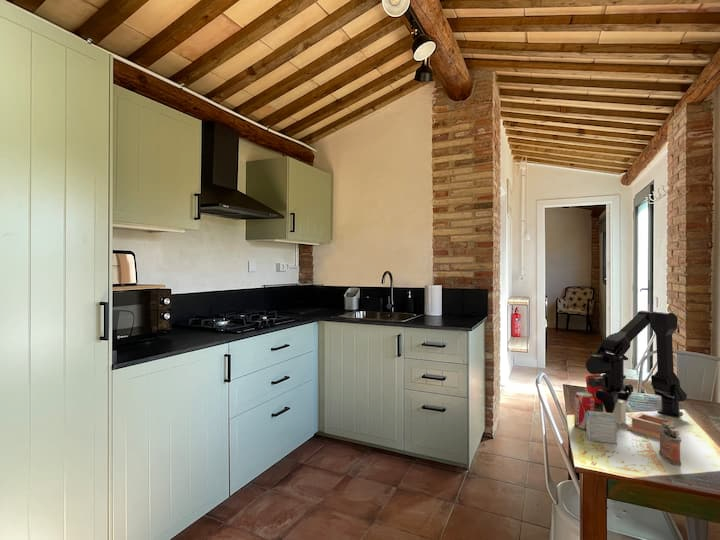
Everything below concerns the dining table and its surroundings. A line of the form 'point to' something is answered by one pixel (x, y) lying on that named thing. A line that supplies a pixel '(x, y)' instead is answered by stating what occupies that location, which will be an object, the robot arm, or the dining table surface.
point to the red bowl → (593, 390)
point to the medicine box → (601, 426)
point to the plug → (619, 411)
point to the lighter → (669, 445)
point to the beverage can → (582, 408)
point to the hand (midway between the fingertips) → (614, 414)
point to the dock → (649, 424)
